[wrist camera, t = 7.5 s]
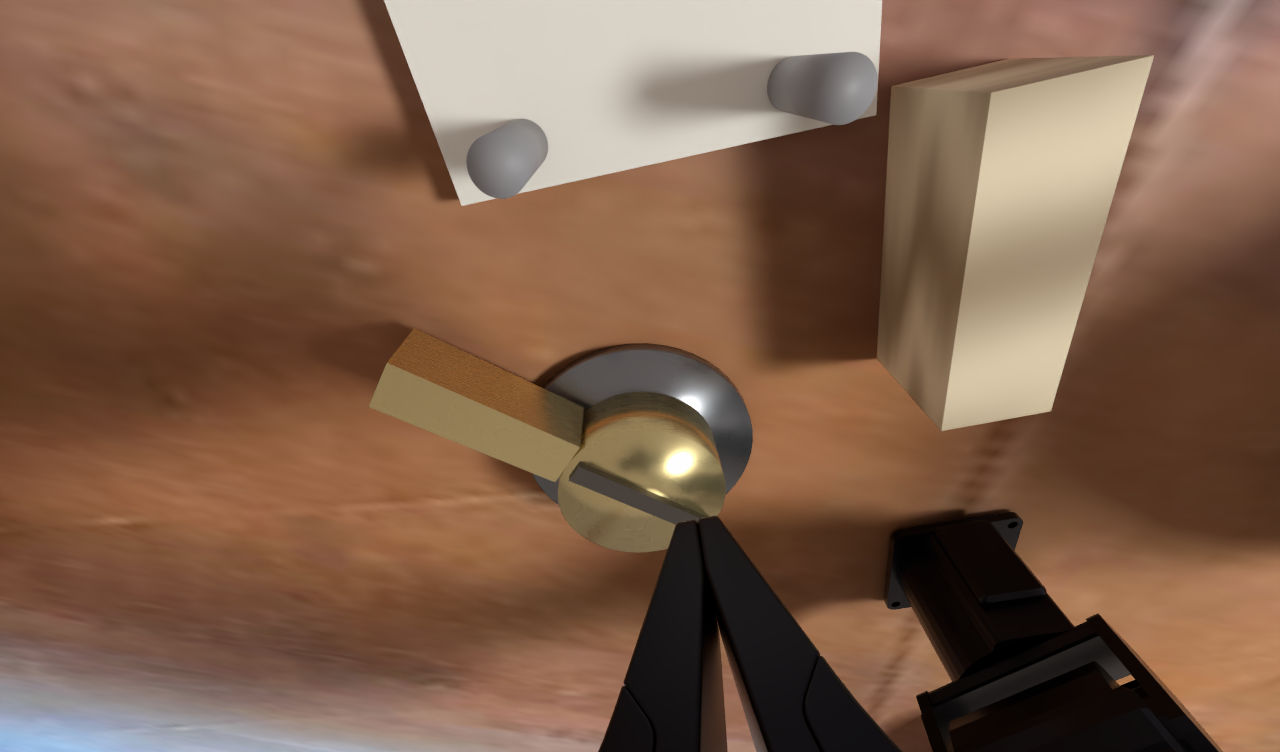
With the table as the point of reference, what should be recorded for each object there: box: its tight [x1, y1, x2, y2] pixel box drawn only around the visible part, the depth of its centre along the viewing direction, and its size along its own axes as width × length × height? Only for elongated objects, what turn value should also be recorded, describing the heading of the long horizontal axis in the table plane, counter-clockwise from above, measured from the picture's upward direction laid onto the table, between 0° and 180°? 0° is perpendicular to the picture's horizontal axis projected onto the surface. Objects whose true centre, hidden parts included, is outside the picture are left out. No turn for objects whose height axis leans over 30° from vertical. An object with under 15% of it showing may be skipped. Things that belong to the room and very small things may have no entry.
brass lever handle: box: [369, 328, 726, 552], centre depth 19 cm, size 14×7×3 cm, turn 58°
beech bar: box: [877, 55, 1154, 431], centre depth 16 cm, size 10×4×5 cm, turn 12°
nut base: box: [532, 344, 753, 505], centre depth 22 cm, size 10×10×1 cm
